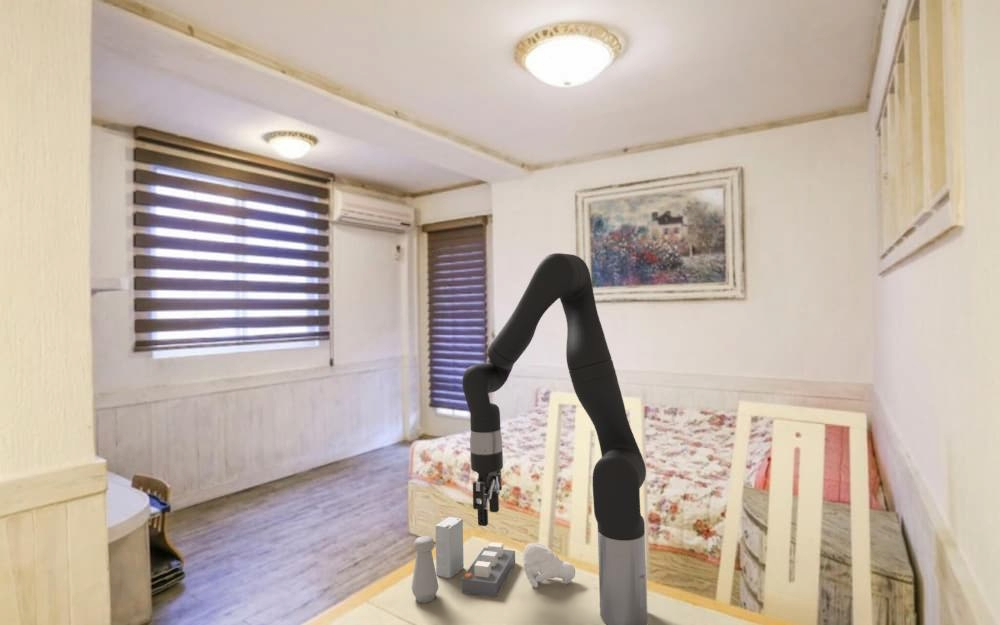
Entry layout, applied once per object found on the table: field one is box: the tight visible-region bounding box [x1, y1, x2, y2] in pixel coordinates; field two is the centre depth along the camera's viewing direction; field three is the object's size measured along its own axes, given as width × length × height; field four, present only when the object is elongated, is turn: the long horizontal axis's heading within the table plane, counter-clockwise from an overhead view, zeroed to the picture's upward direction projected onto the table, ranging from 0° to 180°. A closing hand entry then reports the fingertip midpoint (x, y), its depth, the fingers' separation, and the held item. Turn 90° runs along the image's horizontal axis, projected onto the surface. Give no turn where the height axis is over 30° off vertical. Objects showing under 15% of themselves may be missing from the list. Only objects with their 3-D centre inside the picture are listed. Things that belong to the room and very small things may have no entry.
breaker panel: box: [461, 541, 516, 598], centre depth 123 cm, size 8×16×5 cm, turn 163°
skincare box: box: [435, 516, 465, 579], centre depth 126 cm, size 6×4×12 cm
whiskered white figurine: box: [523, 542, 576, 588], centre depth 120 cm, size 6×8×12 cm
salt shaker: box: [411, 535, 439, 604], centre depth 114 cm, size 6×6×13 cm
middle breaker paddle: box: [481, 551, 498, 567], centre depth 123 cm, size 3×2×2 cm
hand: (489, 518), depth 123 cm, fingers open, 8 cm apart
